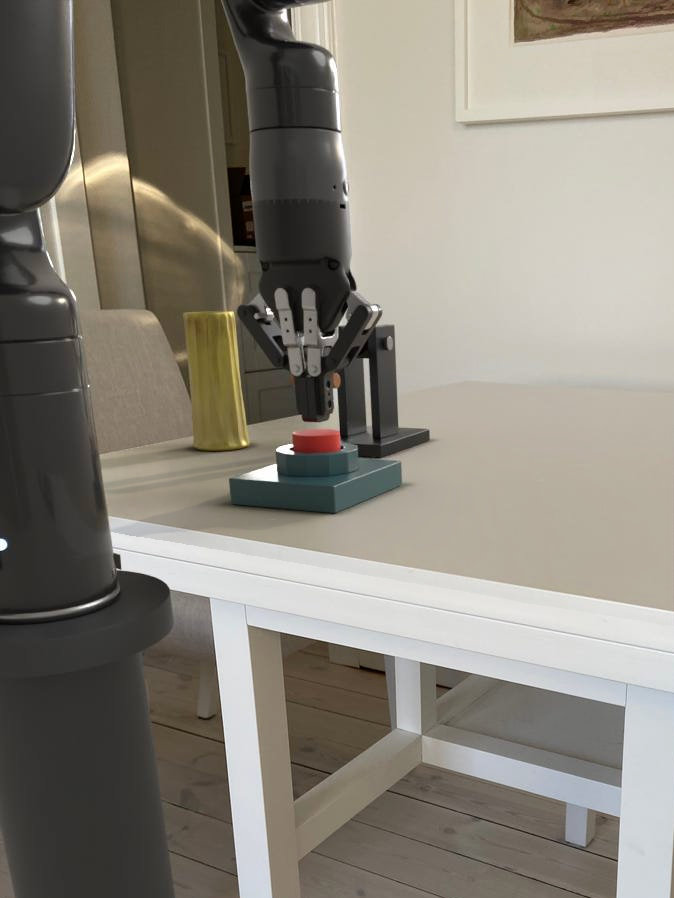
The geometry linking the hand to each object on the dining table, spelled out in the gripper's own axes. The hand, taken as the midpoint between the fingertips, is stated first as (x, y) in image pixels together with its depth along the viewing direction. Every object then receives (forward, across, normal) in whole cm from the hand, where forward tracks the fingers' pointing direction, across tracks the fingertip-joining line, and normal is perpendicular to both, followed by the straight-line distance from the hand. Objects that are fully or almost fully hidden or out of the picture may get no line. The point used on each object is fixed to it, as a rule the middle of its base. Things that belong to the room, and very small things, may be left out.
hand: (316, 420), depth 84 cm
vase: (+6, -24, +18) cm, 31 cm away
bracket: (+6, -8, +24) cm, 26 cm away
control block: (+6, 0, 0) cm, 6 cm away
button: (+3, 0, 0) cm, 3 cm away
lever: (-2, -8, +19) cm, 21 cm away
